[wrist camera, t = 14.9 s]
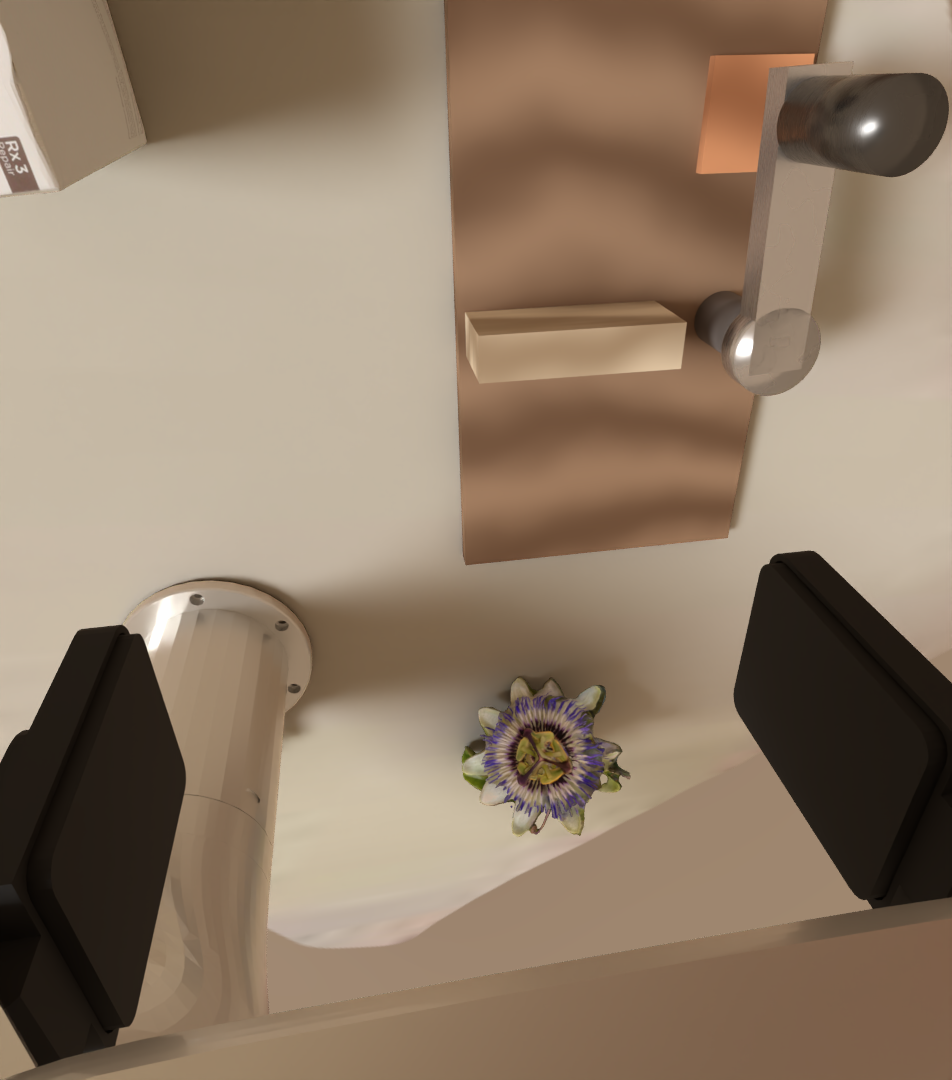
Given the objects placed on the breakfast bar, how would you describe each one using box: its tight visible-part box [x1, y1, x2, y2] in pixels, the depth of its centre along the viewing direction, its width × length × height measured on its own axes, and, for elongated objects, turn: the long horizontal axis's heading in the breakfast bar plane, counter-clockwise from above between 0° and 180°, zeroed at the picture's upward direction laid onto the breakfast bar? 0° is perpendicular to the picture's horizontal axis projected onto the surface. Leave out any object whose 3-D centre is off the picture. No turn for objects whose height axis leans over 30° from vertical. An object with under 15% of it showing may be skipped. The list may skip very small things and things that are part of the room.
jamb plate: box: [444, 0, 828, 565], centre depth 40 cm, size 30×18×6 cm, turn 1°
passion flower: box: [462, 677, 630, 837], centre depth 55 cm, size 11×11×12 cm
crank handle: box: [721, 61, 949, 396], centre depth 32 cm, size 14×4×8 cm, turn 4°
